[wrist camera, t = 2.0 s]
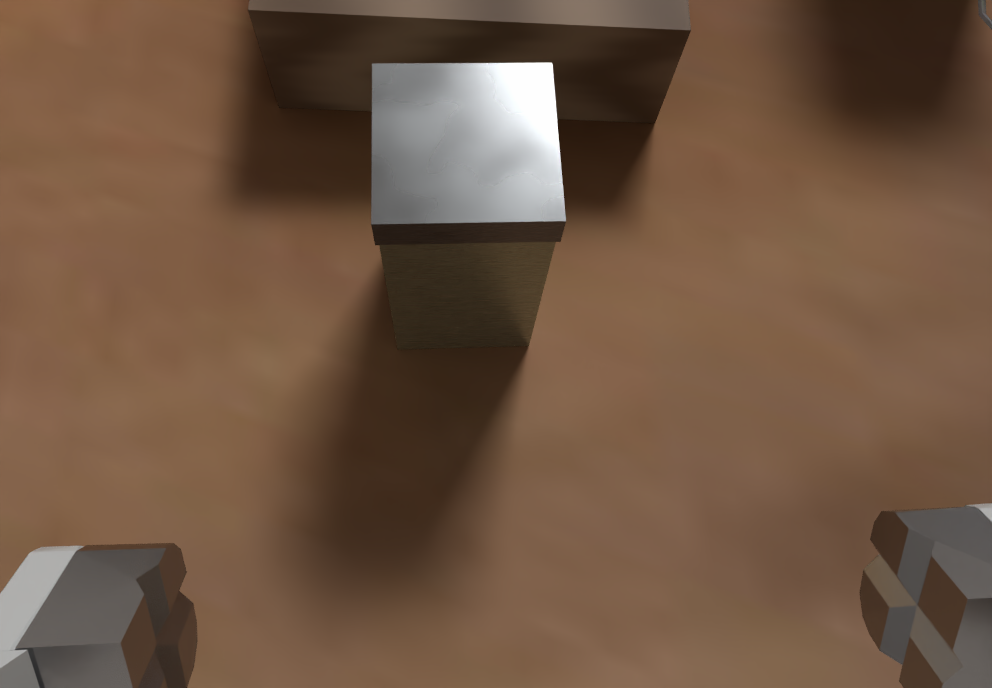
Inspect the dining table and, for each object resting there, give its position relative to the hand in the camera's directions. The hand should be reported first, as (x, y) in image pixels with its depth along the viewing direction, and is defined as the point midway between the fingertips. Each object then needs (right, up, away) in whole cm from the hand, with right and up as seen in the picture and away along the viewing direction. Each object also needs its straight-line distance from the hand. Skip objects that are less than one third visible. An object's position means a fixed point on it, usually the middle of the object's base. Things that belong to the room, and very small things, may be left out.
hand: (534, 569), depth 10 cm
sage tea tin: (-2, +5, +23) cm, 23 cm away
